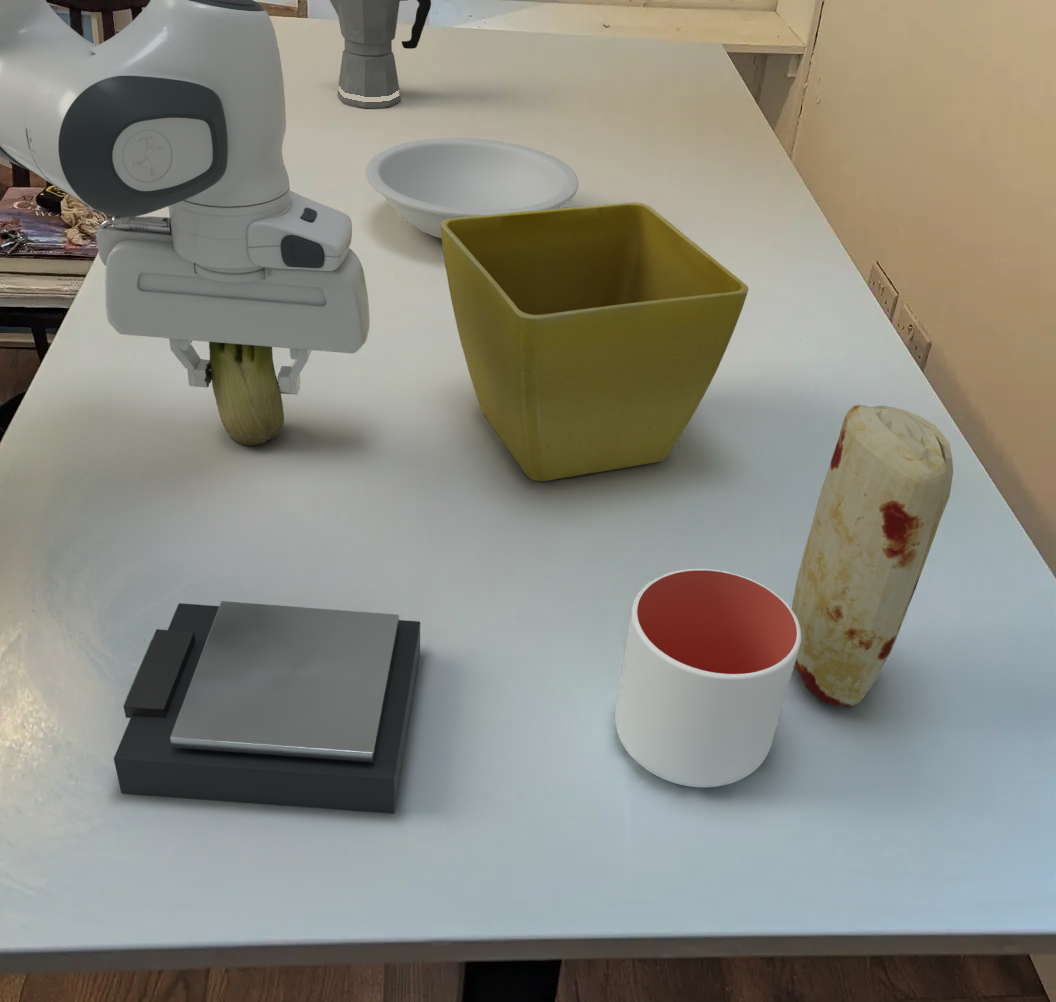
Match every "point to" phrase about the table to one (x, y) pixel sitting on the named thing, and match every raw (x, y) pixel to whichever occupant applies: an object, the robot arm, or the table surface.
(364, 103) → the coffeepot
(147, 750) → the scale
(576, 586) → the table surface
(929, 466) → the food model
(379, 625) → the scale pan
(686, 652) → the cup
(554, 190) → the soup bowl
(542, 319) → the flower pot
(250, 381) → the fennel bulb
